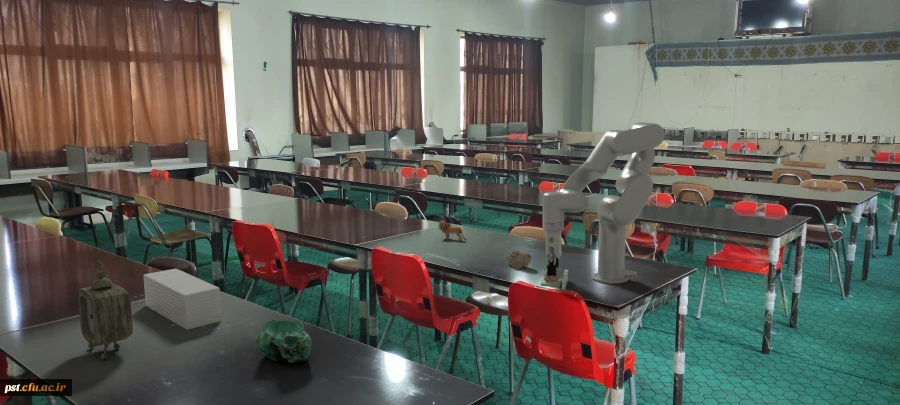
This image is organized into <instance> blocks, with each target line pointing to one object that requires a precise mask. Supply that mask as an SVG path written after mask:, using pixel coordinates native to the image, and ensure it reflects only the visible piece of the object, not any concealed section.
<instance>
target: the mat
mask: <svg viewBox="0 0 900 405" xmlns="http://www.w3.org/2000/svg"><path fill="white" fill-rule="evenodd" d="M544 278H545V277H544ZM544 278H543V277H542V280H541V282H540V286H546V287H547V286H549V287H561V286H562V278H561V279H559V280H558V281H556V282H546V281H545V280H544Z"/></svg>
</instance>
